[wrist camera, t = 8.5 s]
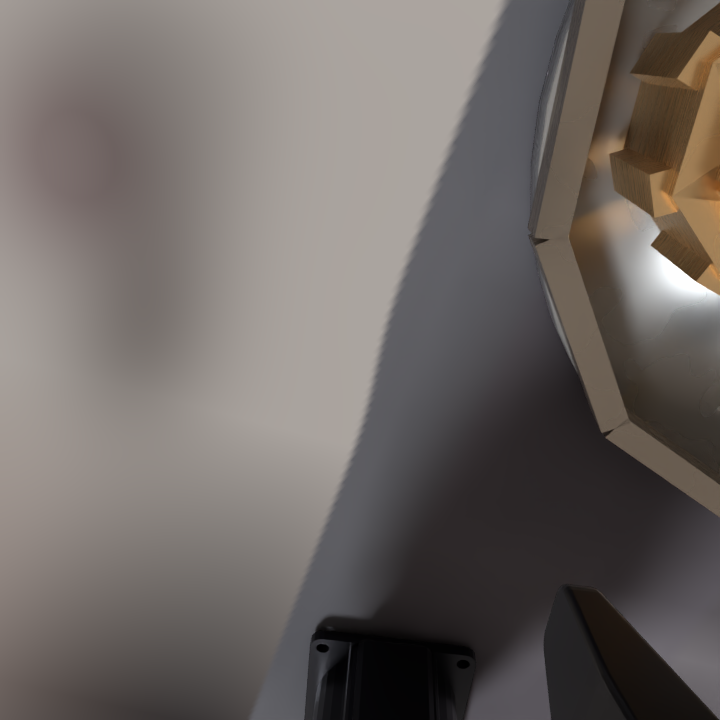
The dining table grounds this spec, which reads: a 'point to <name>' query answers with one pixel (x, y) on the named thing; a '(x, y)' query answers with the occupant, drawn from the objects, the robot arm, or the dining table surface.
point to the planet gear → (678, 147)
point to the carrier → (622, 254)
